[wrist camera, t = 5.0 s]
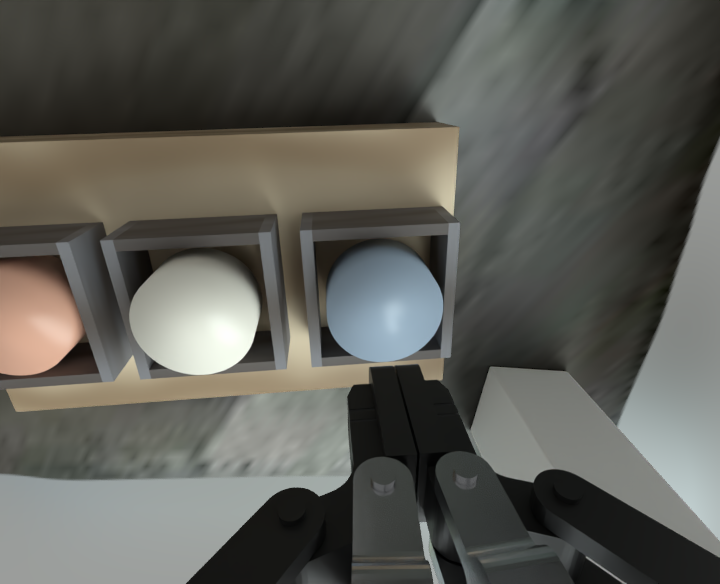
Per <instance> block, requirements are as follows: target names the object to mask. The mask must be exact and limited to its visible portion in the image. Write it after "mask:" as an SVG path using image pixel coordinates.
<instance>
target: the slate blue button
mask: <svg viewBox="0 0 720 584" xmlns="http://www.w3.org/2000/svg"><path fill="white" fill-rule="evenodd" d="M326 309H327V322H328V326H329V329H330V331H331V334H332V336H333V337H334V339H335V340H336V342H337V343H338V344H339V345H340V346H341V347H342V348H343V349H344V350H345V351H347V352H348V353H350V354H351V355H353V356H355V357H357V358H360V359H363V360H367V361H373V362H389V361H395V360H399V359H402V358H405V357H407V356H410V355H412V354H414V353H415V352H417V351H418V350H420V349H421V348H422V347H423V346H425V345H426V344H427V343H428V342H429V341H430V340H431V338H432V337H433V336H434V334H435V333H436V331H437V329H438V327H439V325H440V322H441V319H442V315H443V298H442V294H441V290H440V288H439V286H438V284H437V282H436V280H435V279H434V277H433V276H432V274H431V272H430V271H429V269H428V268H427V266H426V265H425V263H424V261H423V260H422V258H421V257H420V256H419V255H418V254H417V253H416V252H415V251H414V250H413V249H412V248H410V247H409V246H407V245H405V244H403V243H401V242H399V241H395V240H391V239H370V240H366V241H363V242H360V243H357V244H355V245H353V246H352V247H350V248H348V249H347V250H346V251H344V252H343V253H342V254H341V255H340V256H339V257H338V258H337V260H336V261H335V262H334V264H333V265H332V267H331V269H330V271H329V274H328V277H327V282H326Z"/></svg>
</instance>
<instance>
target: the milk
mask: <svg viewBox="0 0 720 584" xmlns="http://www.w3.org/2000/svg"><path fill="white" fill-rule="evenodd" d="M471 434H472V436H473V438H474V440H475V443H476V445H477V447H478V449H479V452H480V454H481V456H482V458H483V459H484V460H485V461H486V462H488V464H489V465H490V466H491V467H492V469H493V470H494V472H495V473H497V474H499V475H502V476H505V477H509V478H513V479H518V480H523V481H528V482H533V483H534V480H535V478H536V476H537V475H538V474H539V473H541V472H543V471H545V470H550V469H559V470H565V471H568V472H571V473H574V474H576V475H578V476H580V477H581V478H583V479H585V480H586V481H588V482H590V483H592V484H593V485H595V486H597V487H599V488H600V489H602V490H604V491H605V492H607V493H609V494H611V495H612V496H614V497H616V498H618V499H619V500H621V501H623V502H625V503H626V504H628V505H630V506H631V507H633V508H635V509H637V510H638V511H640V512H642V513H644V514H645V515H647V516H649V517H650V518H652V519H654V520H656V521H657V522H659V523H661V524H663V525H664V526H666V527H668V528H669V529H671V530H673V531H675V532H676V533H678V534H680V535H682V536H683V537H685V538H687V539H688V540H690V541H692V542H694V543H695V544H697V545H699V546H701V547H702V548H704V549H706V550H707V551H709V552H711V553H713V554H714V555H716V556H718V557H720V541H719V540H718V539H717V538H716V537H715V536H714V534H713V533H712V532H711V531H710V530H709V529H708V528H707V527H706V525H705V524H704V523H703V522H702V521H701V520H700V519H699V518H698V517H697V515H696V514H695V513H694V512H693V511H692V510H691V509H690V508H689V507H688V505H687V504H686V503H685V502H684V501H683V500H682V499H681V498H680V497H679V496H678V494H677V493H676V492H675V491H674V490H673V489H672V488H671V487H670V485H669V484H668V483H667V482H666V481H665V480H664V479H663V478H662V476H661V475H660V474H659V473H658V472H657V471H656V470H655V469H654V468H653V466H652V465H651V464H650V463H649V462H648V461H647V460H646V459H645V458H644V457H643V455H642V454H641V453H640V452H639V451H638V450H637V449H636V448H635V446H634V445H633V444H632V443H631V442H630V441H629V440H628V439H627V438H626V436H625V435H624V434H623V433H622V432H621V431H620V430H619V429H618V427H617V426H616V425H615V424H614V423H613V422H612V421H611V420H610V419H609V417H608V416H607V415H606V414H605V413H604V412H603V411H602V410H601V409H600V407H599V406H598V405H597V404H596V403H595V402H594V401H593V400H592V399H591V397H590V396H589V395H588V394H587V393H586V392H585V391H584V390H583V389H582V387H581V386H580V385H579V384H578V383H577V382H576V381H575V380H574V379H573V377H572V376H571V375H570V374H569V373H568V372H566V371H553V370H538V369H523V368H507V367H490V368H489V371H488V374H487V378H486V381H485V384H484V388H483V391H482V394H481V397H480V401H479V404H478V407H477V411H476V414H475V417H474V420H473V424H472V427H471ZM586 558H587V559H588V560H590V561H591V562H593V563H594V564H596V565H597V566H598V567H600V568H601V569H603V570H604V571H606V572H607V573H608V574H610V575H611V576H613V577H614V578H616V579H617V580H619V581H620V582H621V583H623V584H626V583H625V582H623V581H622V580H620V579H619V578H617V577H616V576H615V575H613V574H612V573H610V572H609V571H607V570H606V569H604V568H603V567H602V566H600V565H599V564H597V563H596V562H594V561H593V560H592V559H590V558H589V557H587V556H586Z"/></svg>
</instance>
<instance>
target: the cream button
mask: <svg viewBox="0 0 720 584" xmlns="http://www.w3.org/2000/svg"><path fill="white" fill-rule="evenodd" d="M261 309H262V293H261V289H260V286H259V283H258V281H257V279H256V277H255V276H254V275H253V273H252V272H251V270H250V269H249V268H248V267H247V266H246V265H245V264H244V263H242V262H241V261H240V260H238V259H237V258H235V257H234V256H232V255H230V254H228V253H225V252H223V251H220V250H216V249H210V248H192V249H187V250H183V251H181V252H178V253H176V254H174V255H172V256H170V257H169V258H168V259H167V260H165V261H164V262H163V263H162V264H161V265H160V266H159V268H158V269H157V270H156V271H155V272H154V273H153V274H152V275H151V276H150V277H149V278H148V279H147V280H146V281H145V283H144V284H143V285H142V286H141V287H140V288H139V289H138V291H137V292H136V294H135V295H134V297H133V300H132V302H131V306H130V312H129V320H130V326H131V330H132V333H133V335H134V337H135V339H136V341H137V343H138V344H139V346H140V347H141V348H142V350H143V351H144V352H145V353H146V354H147V355H148V356H149V357H151V358H152V359H153V360H154V361H156V362H157V363H159V364H160V365H162V366H164V367H166V368H168V369H171V370H173V371H177V372H180V373H184V374H191V375H207V374H214V373H218V372H221V371H224V370H226V369H228V368H230V367H232V366H233V365H235V364H236V363H238V362H239V361H240V360H241V359H242V358H243V357H244V356H245V355H246V354H247V352H248V351H249V349H250V347H251V345H252V342H253V340H254V336H255V332H256V328H257V325H258V321H259V317H260V314H261Z"/></svg>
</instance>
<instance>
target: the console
mask: <svg viewBox="0 0 720 584" xmlns="http://www.w3.org/2000/svg"><path fill="white" fill-rule="evenodd" d="M458 140H459V127H457V126H452V125H448V124H444V123H439V122H426V123H396V124H366V125H336V126H306V127H276V128H246V129H217V130H187V131H157V132H127V133H97V134H67V135H37V136H7V137H0V258H4V257H23V256H43V255H51V256H54V257H56V258H58V259H60V260H62V263H63V266H64V269H65V272H66V275H67V278H68V281H69V284H70V287H71V290H72V293H73V296H74V299H75V302H76V305H77V308H78V311H79V314H80V316H81V319H82V322H83V325H84V328H85V331H86V335H85V336H84V337H83V338H82V339H81V340H80V341H79V342H78V343H77V344H76V345H75V346H74V347H73V348H72V349H71V350H70V351H69V352H68V353H67V354H66V356H65V357H64V358H63V359H62V360H61V361H60V362H59V363H58V364H56V365H55V366H54V367H52V368H50V369H48V370H46V371H44V372H41V373H37V374H33V375H8V374H2V373H0V390H2V389H6V390H7V392H8V395H9V397H10V399H11V401H12V403H13V405H14V408H15V410H16V412H23V411H36V410H49V409H63V408H76V407H89V406H103V405H116V404H130V403H143V402H156V401H170V400H183V399H196V398H210V397H223V396H236V395H250V394H263V393H277V392H290V391H303V390H317V389H330V388H343V387H353V385H356V384H369V367H376V366H395V365H410V364H419V366H420V368H421V371H422V374H423V377H424V379H425V380H443V366H444V358H450V357H451V344H452V330H453V317H454V303H455V290H456V276H457V262H458V249H459V235H460V222H459V221H458V220H457V219H456V218H455V217H454V201H455V186H456V171H457V155H458ZM370 239H391V240H395V241H399V242H401V243H403V244H405V245H407V246H409V247H410V248H412V249H413V250H414V251H415V252H416V253H417V254H418V255H419V256H420V257H421V258H422V260H423V261H424V263H425V265H426V266H427V268H428V269H429V271H430V272H431V274H432V276H433V277H434V279H435V280H436V282H437V284H438V286H439V288H440V290H441V294H442V298H443V315H442V319H441V322H440V325H439V327H438V329H437V331H436V333H435V334H434V336H433V337H432V338H431V340H430V341H429V342H428V343H427V344H426V345H425V346H423V347H422V348H421V349H420V350H418V351H417V352H415V353H414V354H412V355H410V356H407V357H405V358H402V359H399V360H395V361H389V362H373V361H367V360H363V359H360V358H357V357H355V356H353V355H351V354H350V353H348V352H347V351H345V350H344V349H343V348H342V347H341V346H340V345H339V344H338V343H337V342H336V340H335V339H334V337H333V336H332V334H331V331H330V329H329V326H328V322H327V309H326V282H327V277H328V274H329V271H330V269H331V267H332V265H333V264H334V262H335V261H336V260H337V258H338V257H339V256H340V255H341V254H342V253H343V252H344V251H346V250H347V249H348V248H350V247H352V246H353V245H355V244H357V243H360V242H363V241H366V240H370ZM192 248H210V249H216V250H220V251H223V252H225V253H228V254H230V255H232V256H234V257H235V258H237V259H238V260H240V261H241V262H242V263H244V264H245V265H246V266H247V267H248V268H249V269H250V270H251V272H252V273H253V275H254V276H255V277H256V279H257V281H258V283H259V286H260V289H261V293H262V309H261V314H260V317H259V321H258V325H257V328H256V332H255V336H254V340H253V342H252V345H251V347H250V349H249V351H248V352H247V354H246V355H245V356H244V357H243V358H242V359H241V360H240V361H239V362H238V363H236V364H235V365H233V366H232V367H230V368H228V369H226V370H224V371H221V372H218V373H214V374H207V375H191V374H184V373H180V372H177V371H173V370H171V369H168V368H166V367H164V366H162V365H160V364H159V363H157V362H156V361H154V360H153V359H152V358H151V357H149V356H148V355H147V354H146V353H145V352H144V351H143V350H142V348H141V347H140V346H139V344H138V343H137V341H136V339H135V337H134V335H133V333H132V330H131V326H130V320H129V312H130V306H131V302H132V300H133V297H134V295H135V294H136V292H137V291H138V289H139V288H140V287H141V286H142V285H143V284H144V283H145V281H146V280H147V279H148V278H149V277H150V276H151V275H152V274H153V273H154V272H155V271H156V270H157V269H158V268H159V266H160V265H161V264H162V263H163V262H164V261H165V260H167V259H168V258H169V257H170V256H172V255H174V254H176V253H178V252H181V251H183V250H187V249H192Z"/></svg>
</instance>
